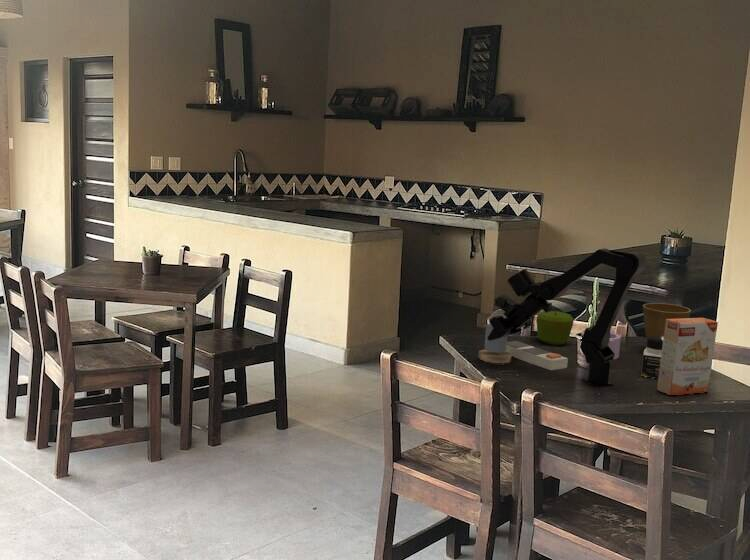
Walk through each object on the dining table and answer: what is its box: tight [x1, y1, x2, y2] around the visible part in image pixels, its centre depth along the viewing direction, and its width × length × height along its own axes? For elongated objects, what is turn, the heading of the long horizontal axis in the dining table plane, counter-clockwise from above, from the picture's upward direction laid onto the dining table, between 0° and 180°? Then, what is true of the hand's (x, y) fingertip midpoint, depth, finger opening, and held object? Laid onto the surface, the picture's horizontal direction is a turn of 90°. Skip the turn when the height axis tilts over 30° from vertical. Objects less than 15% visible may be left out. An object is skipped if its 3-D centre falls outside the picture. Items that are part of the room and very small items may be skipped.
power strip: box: [505, 340, 569, 371], centre depth 251 cm, size 22×7×4 cm, turn 33°
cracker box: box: [656, 317, 719, 396], centre depth 223 cm, size 14×6×21 cm, turn 114°
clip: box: [580, 328, 622, 360], centre depth 265 cm, size 20×12×7 cm, turn 163°
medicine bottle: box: [640, 336, 664, 379], centre depth 240 cm, size 7×7×12 cm
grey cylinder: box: [483, 323, 508, 353], centre depth 247 cm, size 5×5×8 cm
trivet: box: [478, 349, 512, 365], centre depth 249 cm, size 10×10×2 cm
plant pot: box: [642, 302, 692, 339], centre depth 267 cm, size 15×15×16 cm
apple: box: [535, 310, 574, 346], centre depth 275 cm, size 12×12×11 cm
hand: (492, 338), depth 248 cm, fingers closed on grey cylinder, 5 cm apart
